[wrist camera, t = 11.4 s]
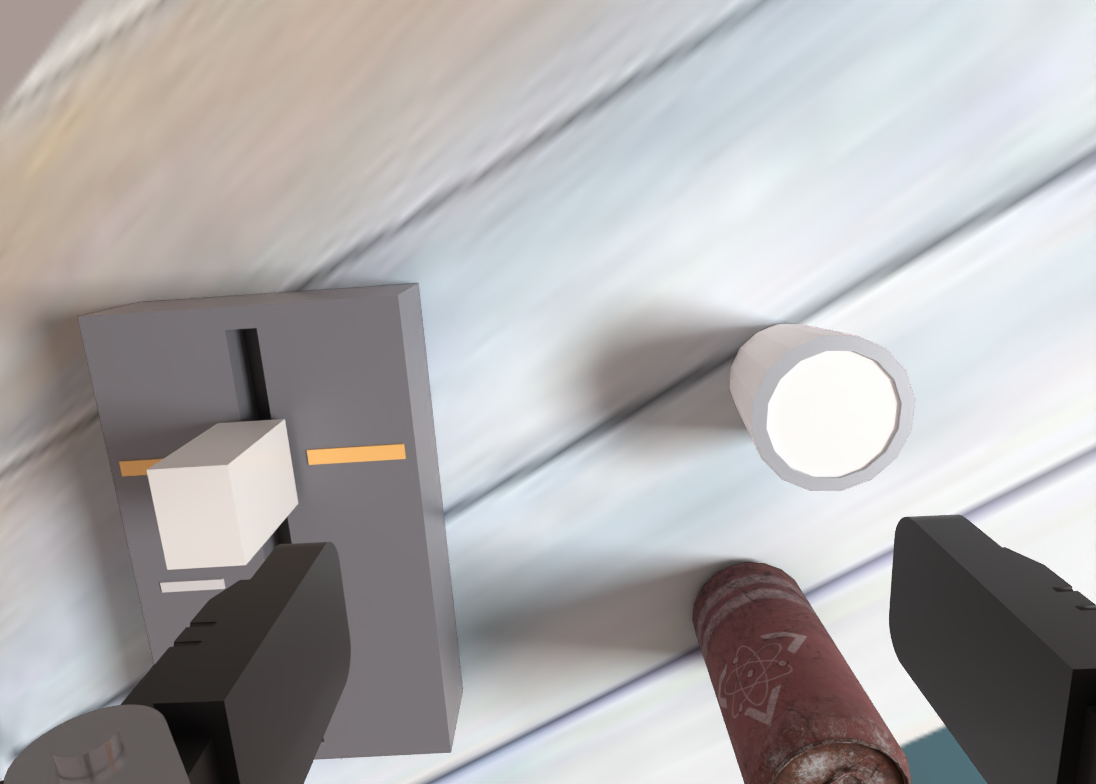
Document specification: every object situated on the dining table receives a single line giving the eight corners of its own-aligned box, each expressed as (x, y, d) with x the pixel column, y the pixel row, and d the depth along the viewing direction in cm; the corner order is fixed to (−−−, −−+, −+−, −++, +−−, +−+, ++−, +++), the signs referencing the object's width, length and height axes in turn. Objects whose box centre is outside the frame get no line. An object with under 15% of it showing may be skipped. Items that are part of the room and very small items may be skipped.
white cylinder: (831, 453, 39) (888, 506, 33) (702, 428, 39) (732, 476, 32) (870, 325, 38) (939, 352, 31) (735, 298, 37) (775, 319, 31)
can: (684, 658, 42) (746, 874, 29) (697, 554, 41) (768, 730, 27) (793, 665, 42) (905, 884, 29) (809, 561, 41) (936, 740, 27)
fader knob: (236, 411, 35) (146, 469, 28) (299, 407, 35) (227, 464, 28) (250, 491, 36) (167, 569, 29) (311, 487, 36) (245, 565, 28)
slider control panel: (138, 301, 38) (76, 317, 33) (418, 283, 37) (397, 295, 32) (219, 703, 43) (175, 768, 38) (462, 690, 43) (450, 753, 38)
